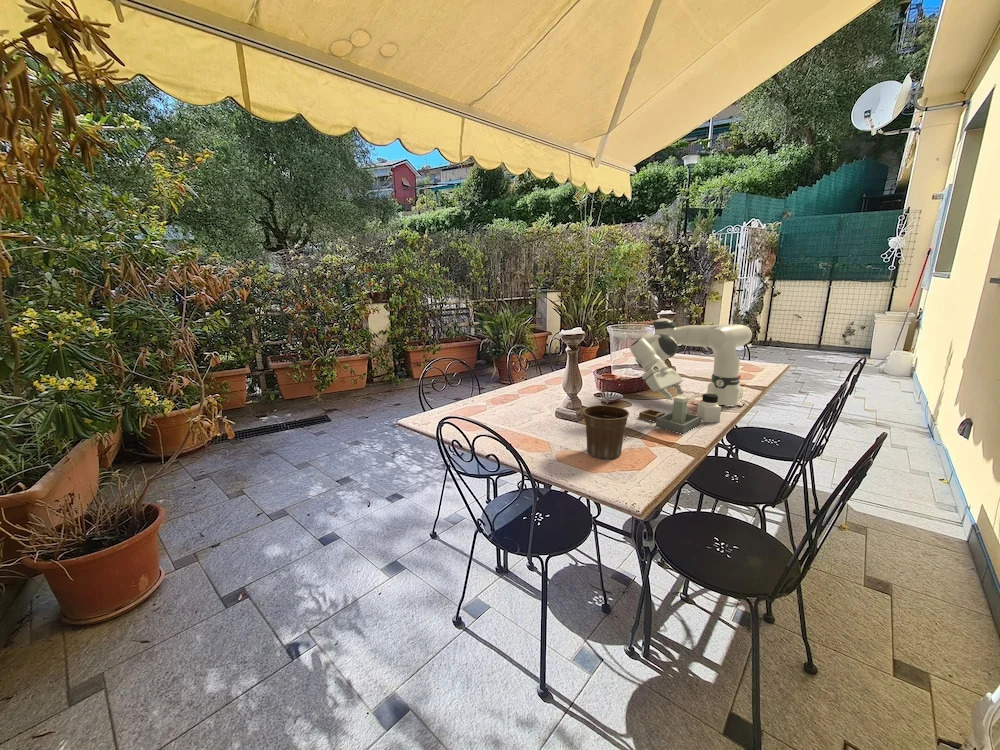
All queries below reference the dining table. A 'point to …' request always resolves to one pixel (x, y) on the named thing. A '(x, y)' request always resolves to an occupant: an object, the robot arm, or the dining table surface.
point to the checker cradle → (650, 414)
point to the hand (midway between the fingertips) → (676, 395)
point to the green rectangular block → (679, 409)
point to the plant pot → (605, 430)
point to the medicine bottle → (709, 408)
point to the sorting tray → (667, 423)
